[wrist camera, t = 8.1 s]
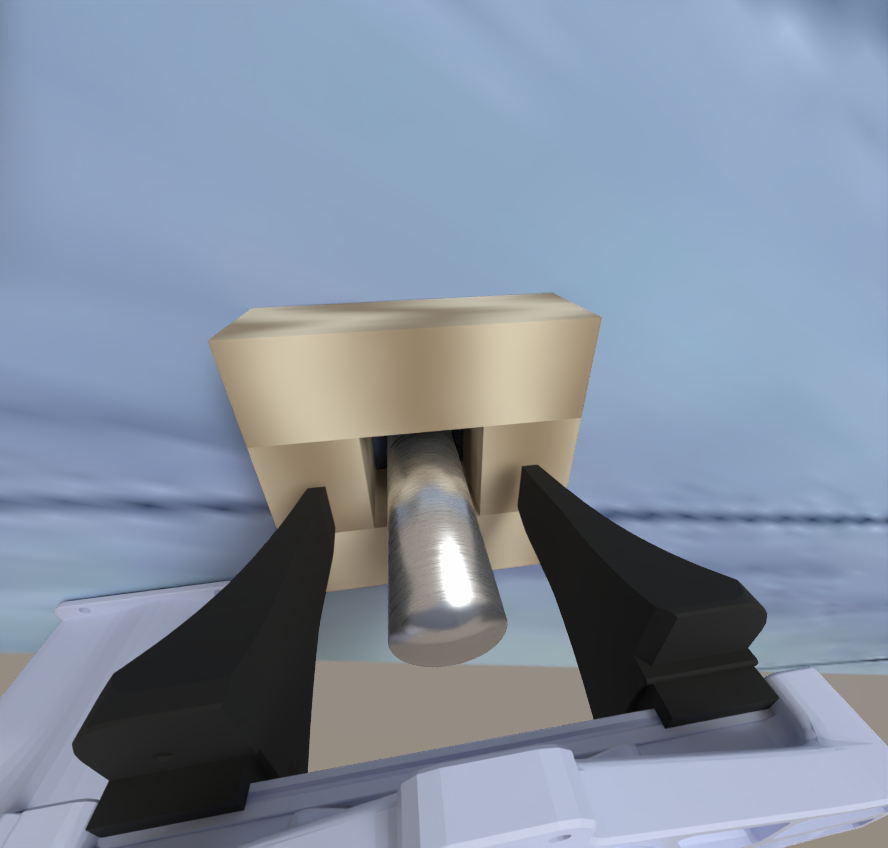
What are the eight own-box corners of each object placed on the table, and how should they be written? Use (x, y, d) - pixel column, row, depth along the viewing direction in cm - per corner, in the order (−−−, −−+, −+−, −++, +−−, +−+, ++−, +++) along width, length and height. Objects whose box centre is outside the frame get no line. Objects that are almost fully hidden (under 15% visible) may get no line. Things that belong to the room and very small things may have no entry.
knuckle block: (315, 529, 20) (301, 595, 17) (252, 308, 14) (207, 340, 10) (525, 505, 21) (551, 562, 18) (552, 293, 15) (601, 317, 12)
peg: (392, 457, 18) (397, 675, 10) (382, 404, 17) (378, 610, 8) (450, 449, 18) (506, 654, 10) (446, 396, 17) (508, 587, 8)
